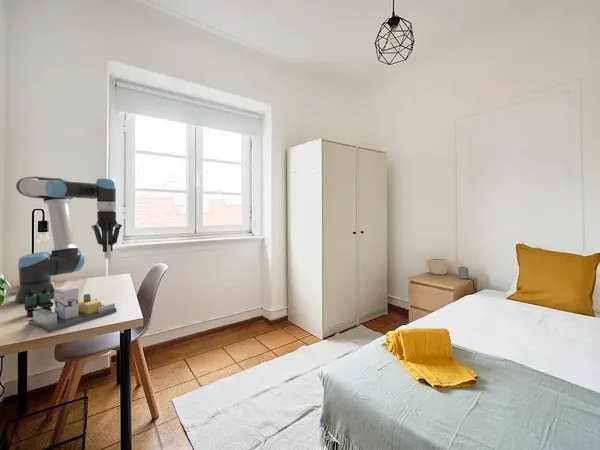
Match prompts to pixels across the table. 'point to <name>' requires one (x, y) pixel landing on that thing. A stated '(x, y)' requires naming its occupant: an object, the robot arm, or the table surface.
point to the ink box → (66, 301)
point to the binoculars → (37, 301)
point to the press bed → (52, 322)
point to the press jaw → (88, 304)
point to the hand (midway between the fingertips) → (107, 258)
